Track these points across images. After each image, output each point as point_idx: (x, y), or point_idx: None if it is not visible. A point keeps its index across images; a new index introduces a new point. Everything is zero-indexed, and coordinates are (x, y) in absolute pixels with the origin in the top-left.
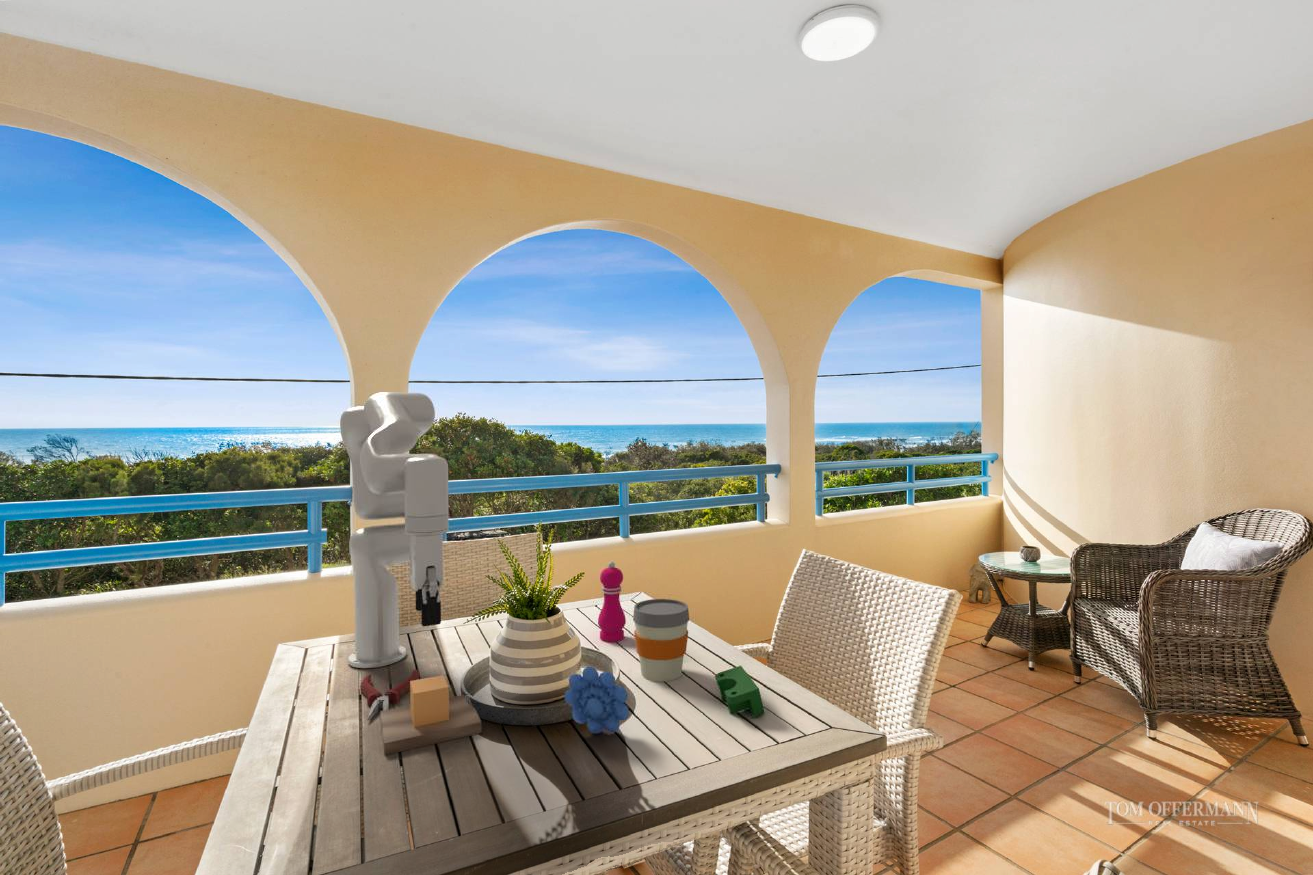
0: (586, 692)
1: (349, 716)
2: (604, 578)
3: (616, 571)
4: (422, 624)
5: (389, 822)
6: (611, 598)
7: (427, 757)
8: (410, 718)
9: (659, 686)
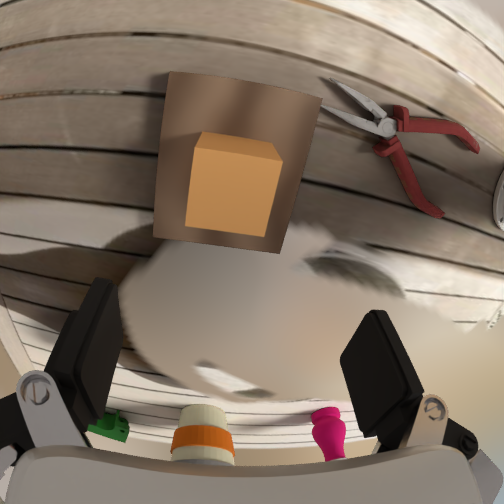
0: None
1: (377, 65)
2: None
3: None
4: (93, 282)
5: (8, 75)
6: (328, 456)
7: (123, 134)
8: (246, 135)
9: (173, 403)
